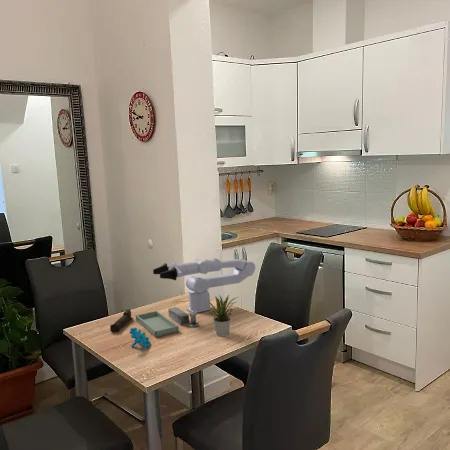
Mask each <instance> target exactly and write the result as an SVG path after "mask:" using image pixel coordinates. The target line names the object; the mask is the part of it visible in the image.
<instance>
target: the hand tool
mask: <svg viewBox="0 0 450 450" xmlns="http://www.w3.org/2000/svg"><path fill="white" fill-rule="evenodd" d="M130 319H131V320H132V311H131V309H126V310H125V311H123V313H122V316H121V317H119V318H118V319H117V320H116V321H115V322H113V324H112V323H111V324H110V325H109V328H110V329H109V330H110V332H111V333H112V332H114V334H115V333H116V334H117V333H119V332H120V330H121V329H122V327H123V326H125V325H126V323H129V322H130V321H131V320H130Z"/></svg>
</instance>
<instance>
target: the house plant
mask: <svg viewBox="0 0 450 450" xmlns="http://www.w3.org/2000/svg"><path fill="white" fill-rule="evenodd" d="M229 296H230V294H228V295H227V296H226V297H225V300H223V298H222V296H221V295H220V294H219V297H218V296H216V295H215V297H214V299H215V301H216V306H215V305H213V303H211V301H210V302H208V301H207V302H208V303H210V306H212V308H213V309H212V308H211V307H210V308H211V309H210V308H209V309H210V312H208V314H209V315H212V316H213V317H214V318H213V324H214V329H215V334H216V335H217V336H218V337H225V335H226V336H228V335H229V334H230V326H231V317H230V316H232V314H233V313H232V312H233V311H234V310H235V309H236V307H234V308H231V307H232V306H233V305H234V304H236V303H237V301H234V300H236V299H238V298H240V297H239V296H238V297H234V298H232V299H231V300H229ZM228 301H229V302H228ZM233 301H234V302H233ZM215 307H216V308H215ZM228 312H229V313H228Z"/></svg>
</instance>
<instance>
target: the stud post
mask: <svg viewBox="0 0 450 450" xmlns="http://www.w3.org/2000/svg"><path fill="white" fill-rule="evenodd" d="M197 314H198V313H196V311H194V310H193V311H189V317H190V322H189V324H188V327H189V328H198V327H200V324H199V322H197Z"/></svg>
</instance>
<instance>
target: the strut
mask: <svg viewBox="0 0 450 450" xmlns="http://www.w3.org/2000/svg"><path fill="white" fill-rule="evenodd" d="M168 318H170V319H171V321H173V322H174V323H175V322H176V323H177V325H180V326H186V325H189V323H190V314H188V313H187V312H185V311H183V310H182V309H181V308H179V307H177V306H173V307H169V308H168Z"/></svg>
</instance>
